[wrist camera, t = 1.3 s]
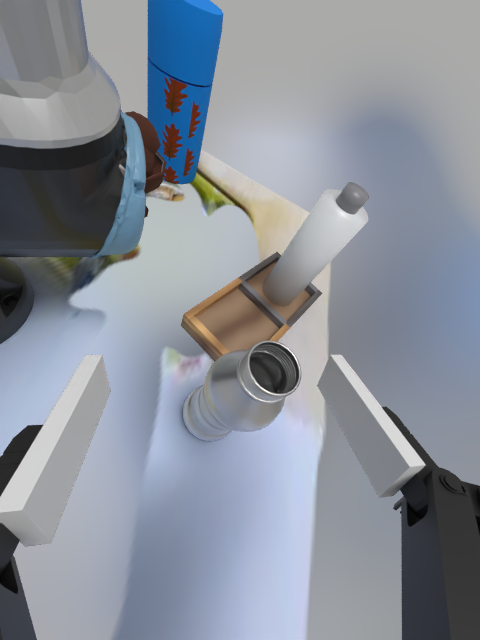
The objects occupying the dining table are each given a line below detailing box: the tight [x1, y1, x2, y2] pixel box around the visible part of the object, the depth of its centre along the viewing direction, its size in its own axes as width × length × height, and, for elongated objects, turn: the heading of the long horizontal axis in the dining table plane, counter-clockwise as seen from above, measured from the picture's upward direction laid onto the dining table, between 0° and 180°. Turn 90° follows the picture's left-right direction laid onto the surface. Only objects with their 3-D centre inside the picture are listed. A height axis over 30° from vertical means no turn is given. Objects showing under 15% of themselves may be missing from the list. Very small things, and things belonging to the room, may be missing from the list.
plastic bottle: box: [183, 340, 301, 441], centre depth 22 cm, size 6×7×20 cm
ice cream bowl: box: [125, 112, 166, 218], centre depth 38 cm, size 11×11×15 cm
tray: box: [181, 252, 322, 361], centre depth 40 cm, size 12×24×4 cm, turn 136°
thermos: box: [148, 0, 223, 184], centre depth 44 cm, size 11×11×25 cm
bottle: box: [263, 182, 369, 306], centre depth 35 cm, size 6×6×20 cm
